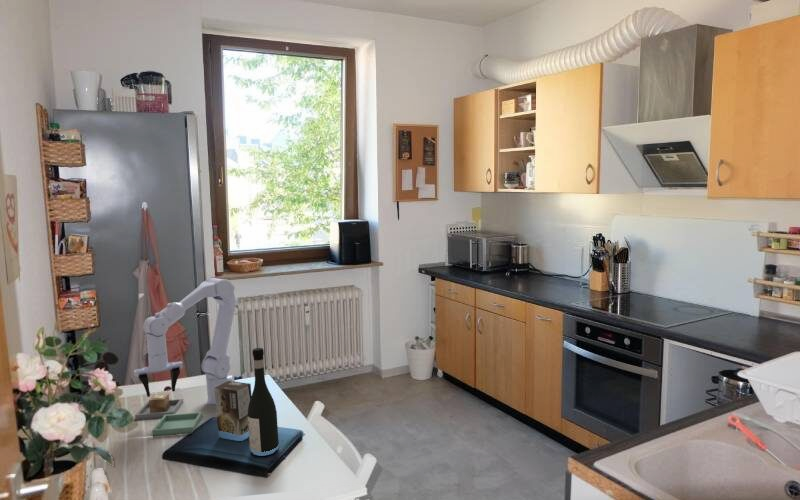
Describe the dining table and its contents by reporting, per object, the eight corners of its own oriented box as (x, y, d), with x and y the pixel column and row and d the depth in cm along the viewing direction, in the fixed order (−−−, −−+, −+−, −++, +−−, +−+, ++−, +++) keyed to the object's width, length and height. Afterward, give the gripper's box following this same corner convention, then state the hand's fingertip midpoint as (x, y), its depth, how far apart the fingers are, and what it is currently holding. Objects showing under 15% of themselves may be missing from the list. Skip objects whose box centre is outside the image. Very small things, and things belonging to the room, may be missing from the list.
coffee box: (255, 434, 169) (251, 383, 167) (241, 443, 163) (237, 390, 161) (232, 429, 173) (228, 380, 171) (217, 438, 167) (213, 387, 165)
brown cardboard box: (169, 407, 192) (168, 393, 191) (165, 413, 187) (164, 398, 186) (154, 408, 191) (153, 394, 191) (150, 414, 186) (148, 399, 186)
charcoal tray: (183, 404, 196) (182, 398, 196) (173, 417, 184) (172, 412, 184) (147, 406, 195) (147, 401, 194) (135, 420, 183) (134, 415, 182)
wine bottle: (253, 461, 152) (246, 354, 148) (247, 449, 159) (240, 348, 156) (282, 453, 155) (275, 349, 152) (275, 442, 162) (268, 343, 159)
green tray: (202, 417, 183) (202, 411, 183) (193, 433, 171) (192, 427, 171) (165, 420, 182) (164, 414, 182) (152, 436, 170) (152, 430, 170)
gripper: (178, 346, 188) (181, 385, 189) (131, 354, 180) (135, 394, 182) (182, 351, 182) (185, 390, 183) (134, 359, 174) (138, 401, 176)
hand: (161, 393), depth 182 cm, fingers open, 7 cm apart
